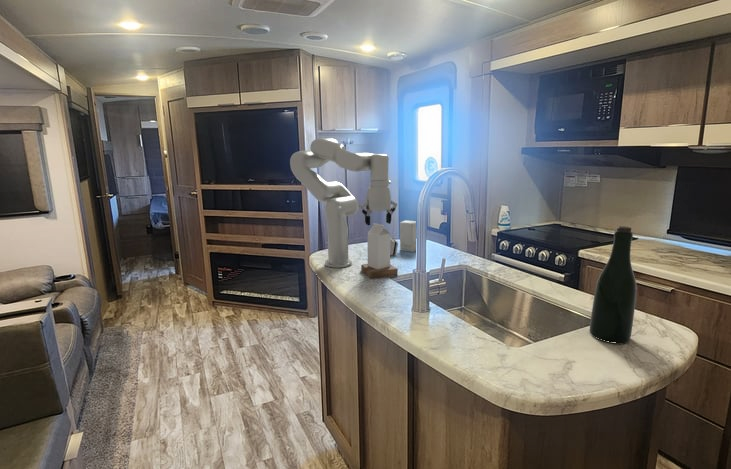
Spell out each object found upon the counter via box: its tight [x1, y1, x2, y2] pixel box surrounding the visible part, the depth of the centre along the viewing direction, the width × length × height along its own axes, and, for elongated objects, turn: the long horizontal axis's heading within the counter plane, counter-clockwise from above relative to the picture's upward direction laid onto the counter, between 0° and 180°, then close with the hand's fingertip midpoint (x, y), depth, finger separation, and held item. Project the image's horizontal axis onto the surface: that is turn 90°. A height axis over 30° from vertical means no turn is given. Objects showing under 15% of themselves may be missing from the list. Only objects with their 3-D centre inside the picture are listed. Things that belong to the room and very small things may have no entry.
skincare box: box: [399, 219, 416, 253], centre depth 214 cm, size 8×7×16 cm
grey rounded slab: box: [390, 236, 399, 257], centre depth 210 cm, size 17×5×10 cm, turn 37°
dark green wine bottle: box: [588, 226, 638, 344], centre depth 115 cm, size 10×10×33 cm
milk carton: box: [366, 222, 391, 269], centre depth 175 cm, size 7×7×19 cm
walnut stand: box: [360, 263, 399, 280], centre depth 177 cm, size 12×12×3 cm
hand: (378, 223), depth 173 cm, fingers open, 9 cm apart
